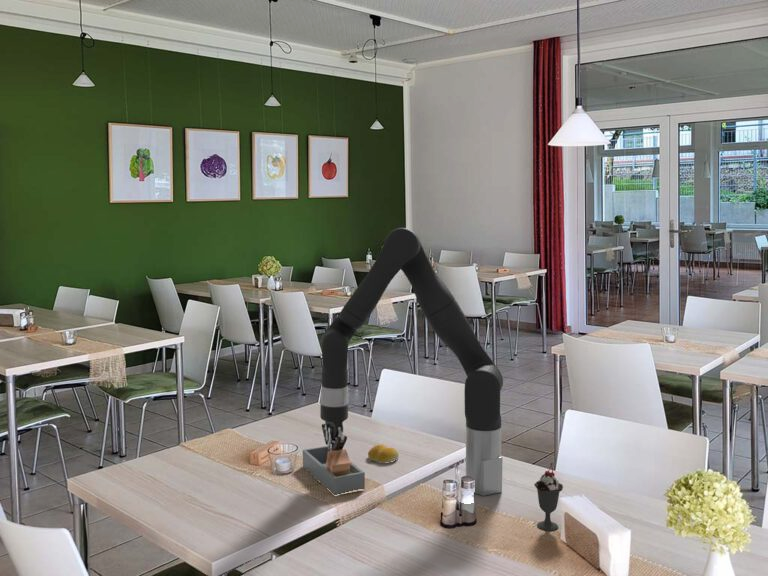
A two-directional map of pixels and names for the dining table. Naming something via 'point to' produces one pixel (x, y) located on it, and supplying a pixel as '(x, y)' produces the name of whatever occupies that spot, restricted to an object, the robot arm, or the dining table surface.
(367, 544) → the dining table surface
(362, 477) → the trap box
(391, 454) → the bread roll
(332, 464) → the block
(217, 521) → the dining table surface
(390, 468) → the dining table surface
